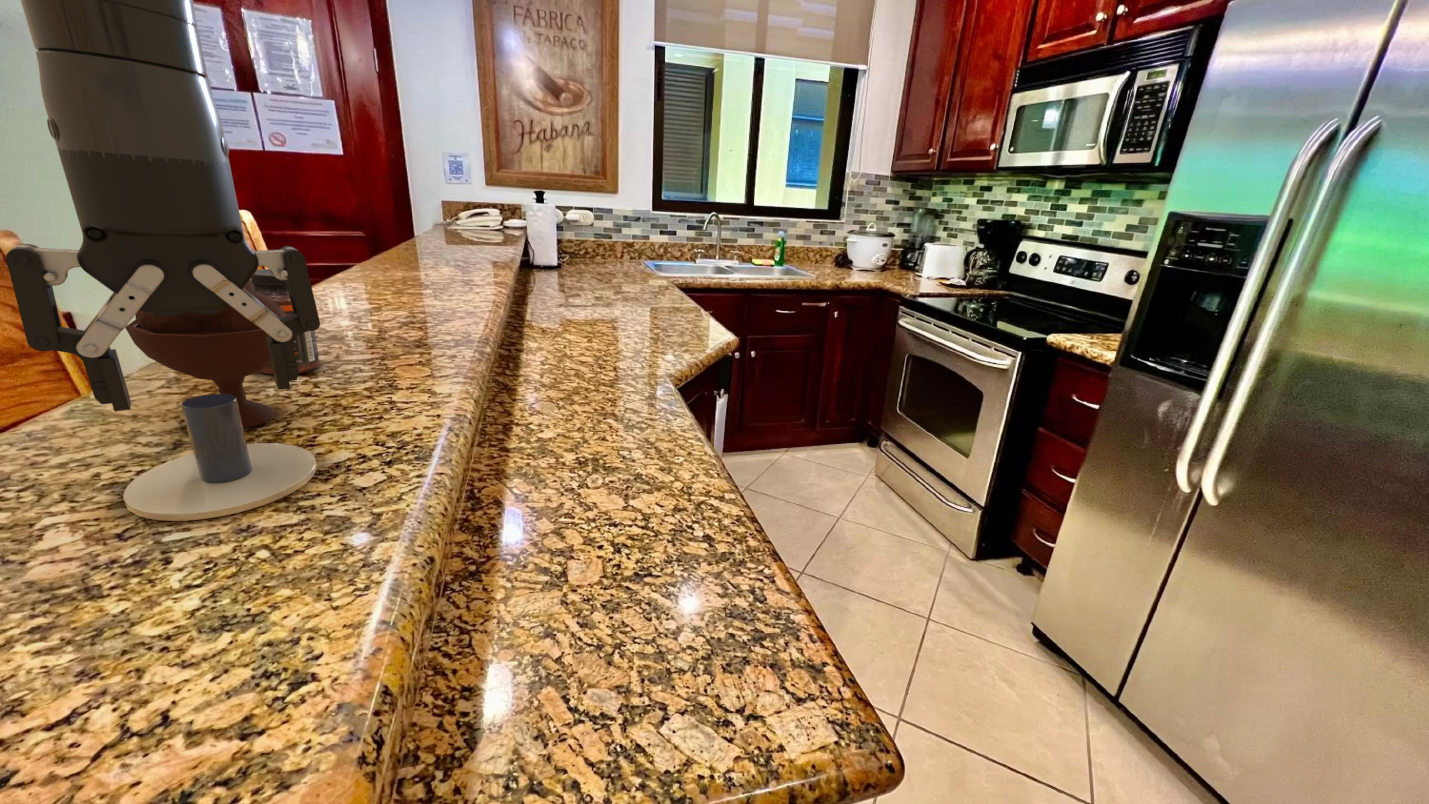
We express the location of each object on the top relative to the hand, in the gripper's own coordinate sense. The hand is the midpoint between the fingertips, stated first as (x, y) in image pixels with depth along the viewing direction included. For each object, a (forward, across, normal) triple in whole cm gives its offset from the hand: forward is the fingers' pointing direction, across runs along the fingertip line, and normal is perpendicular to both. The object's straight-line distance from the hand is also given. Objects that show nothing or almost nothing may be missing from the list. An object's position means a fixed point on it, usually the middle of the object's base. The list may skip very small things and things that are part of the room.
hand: (208, 396), depth 39 cm
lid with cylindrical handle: (+7, 0, 0) cm, 7 cm away
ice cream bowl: (+7, -2, -13) cm, 15 cm away
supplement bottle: (+7, -8, -27) cm, 29 cm away
